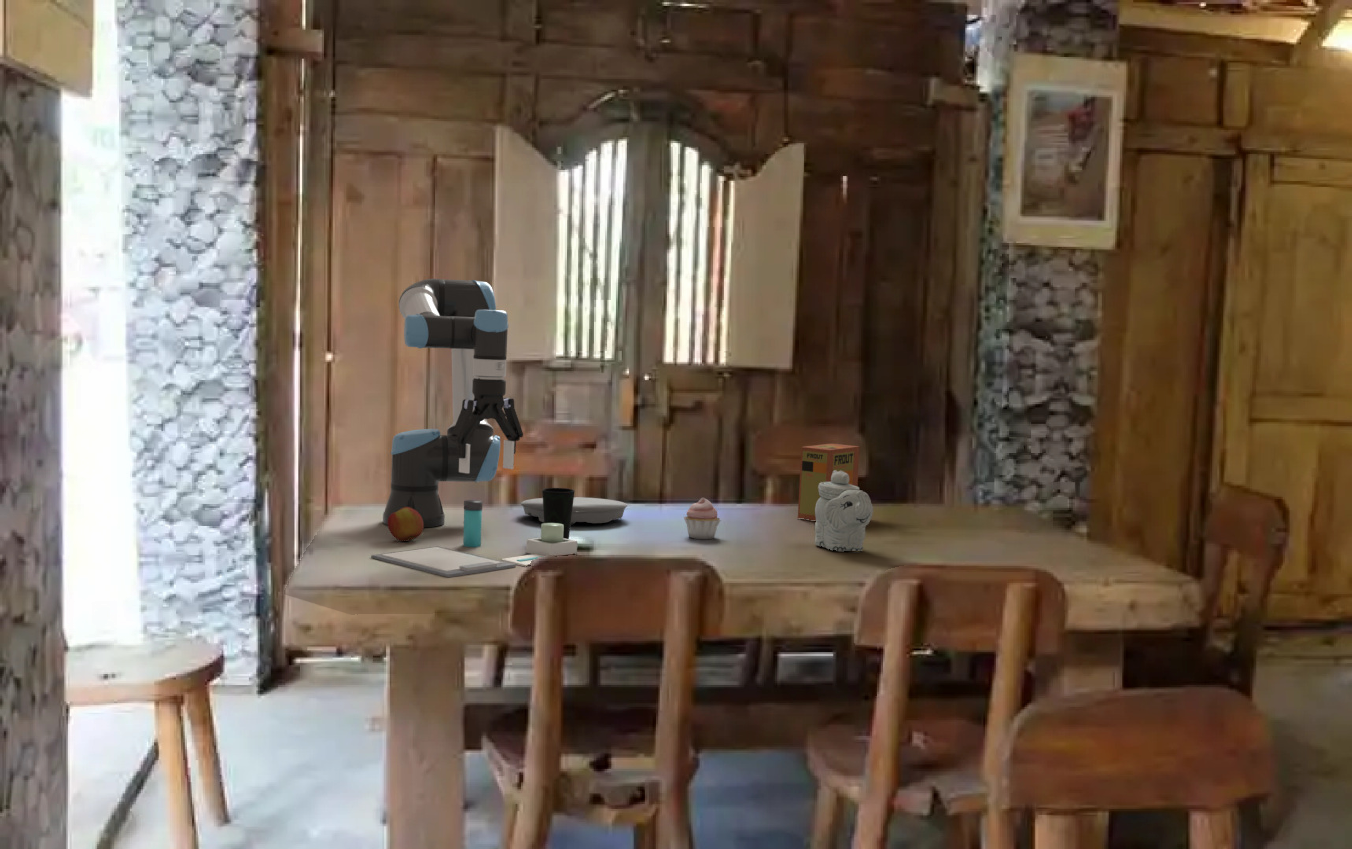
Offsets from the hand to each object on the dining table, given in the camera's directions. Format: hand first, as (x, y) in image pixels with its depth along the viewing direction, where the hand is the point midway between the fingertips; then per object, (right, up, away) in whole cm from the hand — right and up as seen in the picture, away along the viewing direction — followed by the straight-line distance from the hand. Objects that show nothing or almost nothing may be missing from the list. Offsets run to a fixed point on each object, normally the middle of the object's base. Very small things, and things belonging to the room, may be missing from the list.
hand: (486, 470), depth 304 cm
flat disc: (+16, -15, +44) cm, 50 cm away
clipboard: (-6, -19, -21) cm, 29 cm away
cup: (+15, -17, +12) cm, 26 cm away
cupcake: (+50, -18, +25) cm, 58 cm away
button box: (+15, -18, -5) cm, 25 cm away
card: (+12, -19, -15) cm, 27 cm away
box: (+85, -16, +65) cm, 108 cm away
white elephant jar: (+83, -20, +15) cm, 87 cm away
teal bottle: (-3, -17, +1) cm, 18 cm away
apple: (-19, -17, +2) cm, 25 cm away
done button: (+15, -16, -5) cm, 23 cm away
